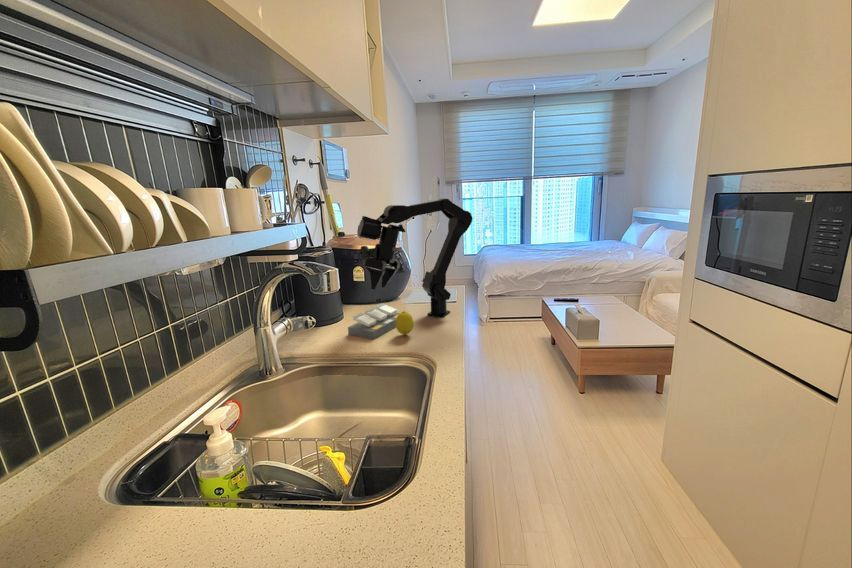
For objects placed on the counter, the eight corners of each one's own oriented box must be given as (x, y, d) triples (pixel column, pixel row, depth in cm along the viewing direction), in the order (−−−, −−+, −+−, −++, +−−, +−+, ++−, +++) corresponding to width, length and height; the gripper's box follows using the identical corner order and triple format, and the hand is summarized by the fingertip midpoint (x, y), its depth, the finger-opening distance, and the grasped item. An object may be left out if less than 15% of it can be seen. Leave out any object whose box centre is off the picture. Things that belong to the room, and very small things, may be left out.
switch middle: (371, 310, 124) (372, 307, 124) (386, 317, 122) (387, 314, 121) (364, 314, 121) (364, 310, 121) (379, 320, 118) (380, 317, 118)
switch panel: (383, 317, 132) (382, 307, 131) (406, 320, 128) (405, 310, 127) (348, 334, 116) (347, 323, 115) (373, 339, 111) (372, 328, 111)
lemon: (393, 337, 112) (392, 313, 111) (400, 331, 118) (399, 307, 116) (410, 339, 111) (409, 314, 109) (416, 333, 116) (415, 309, 114)
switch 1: (360, 315, 119) (361, 312, 119) (376, 322, 117) (376, 319, 116) (352, 319, 116) (353, 316, 116) (368, 326, 113) (368, 323, 113)
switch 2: (381, 305, 130) (382, 303, 129) (396, 312, 127) (397, 309, 127) (375, 309, 126) (375, 306, 126) (390, 315, 124) (390, 312, 123)
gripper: (376, 239, 131) (367, 280, 133) (353, 236, 113) (344, 284, 115) (404, 245, 129) (395, 288, 131) (386, 243, 111) (376, 293, 113)
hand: (378, 288), depth 123 cm, fingers open, 9 cm apart
